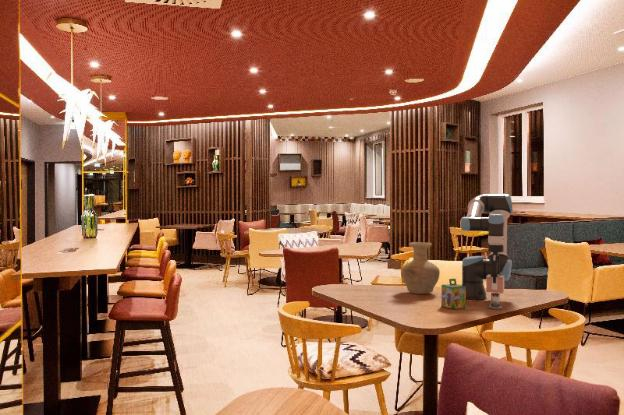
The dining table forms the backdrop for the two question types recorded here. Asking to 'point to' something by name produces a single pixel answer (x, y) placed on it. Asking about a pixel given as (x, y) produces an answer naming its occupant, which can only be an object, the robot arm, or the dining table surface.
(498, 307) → the stud
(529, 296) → the dining table surface
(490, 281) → the terracotta cube
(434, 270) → the vase
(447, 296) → the chalk box
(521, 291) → the dining table surface
